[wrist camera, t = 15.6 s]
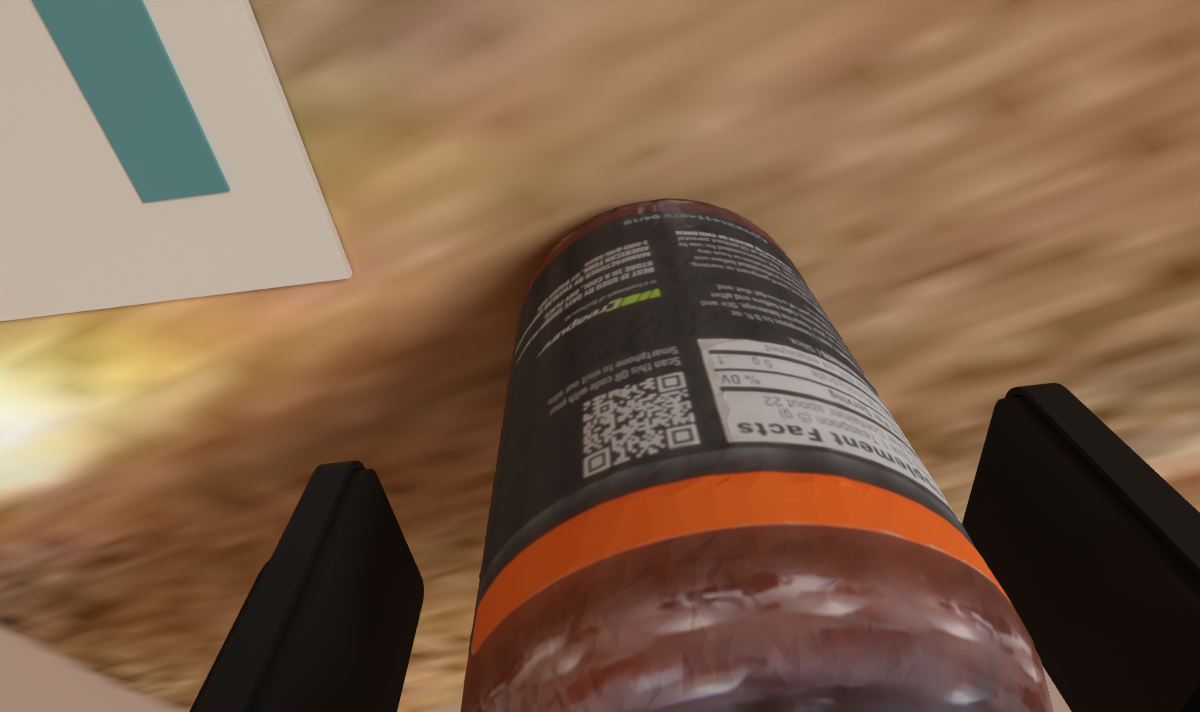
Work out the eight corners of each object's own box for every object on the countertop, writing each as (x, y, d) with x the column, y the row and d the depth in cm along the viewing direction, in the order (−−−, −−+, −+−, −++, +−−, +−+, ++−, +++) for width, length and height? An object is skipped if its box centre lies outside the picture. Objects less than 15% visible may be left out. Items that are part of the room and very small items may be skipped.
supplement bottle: (670, 466, 16) (793, 1244, 7) (464, 344, 14) (210, 1246, 4) (860, 300, 13) (1514, 1192, 4) (645, 118, 11) (962, 1130, 2)
